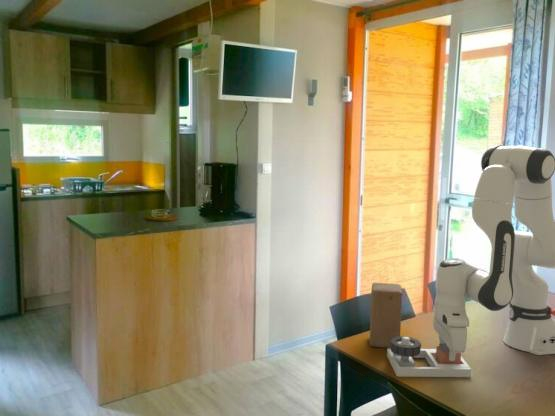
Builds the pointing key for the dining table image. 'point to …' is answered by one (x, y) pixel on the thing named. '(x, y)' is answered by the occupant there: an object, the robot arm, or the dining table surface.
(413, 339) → the wheel
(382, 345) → the wooden block
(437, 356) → the two-tone grey-capped cube
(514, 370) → the dining table surface
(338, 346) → the dining table surface
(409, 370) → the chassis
